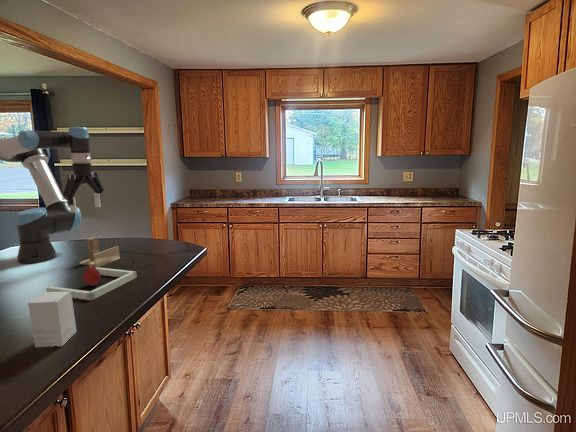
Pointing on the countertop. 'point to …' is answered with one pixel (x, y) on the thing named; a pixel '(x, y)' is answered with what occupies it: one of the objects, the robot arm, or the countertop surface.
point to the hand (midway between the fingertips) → (86, 209)
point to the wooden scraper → (100, 254)
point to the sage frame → (90, 295)
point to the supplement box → (52, 318)
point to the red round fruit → (91, 276)
